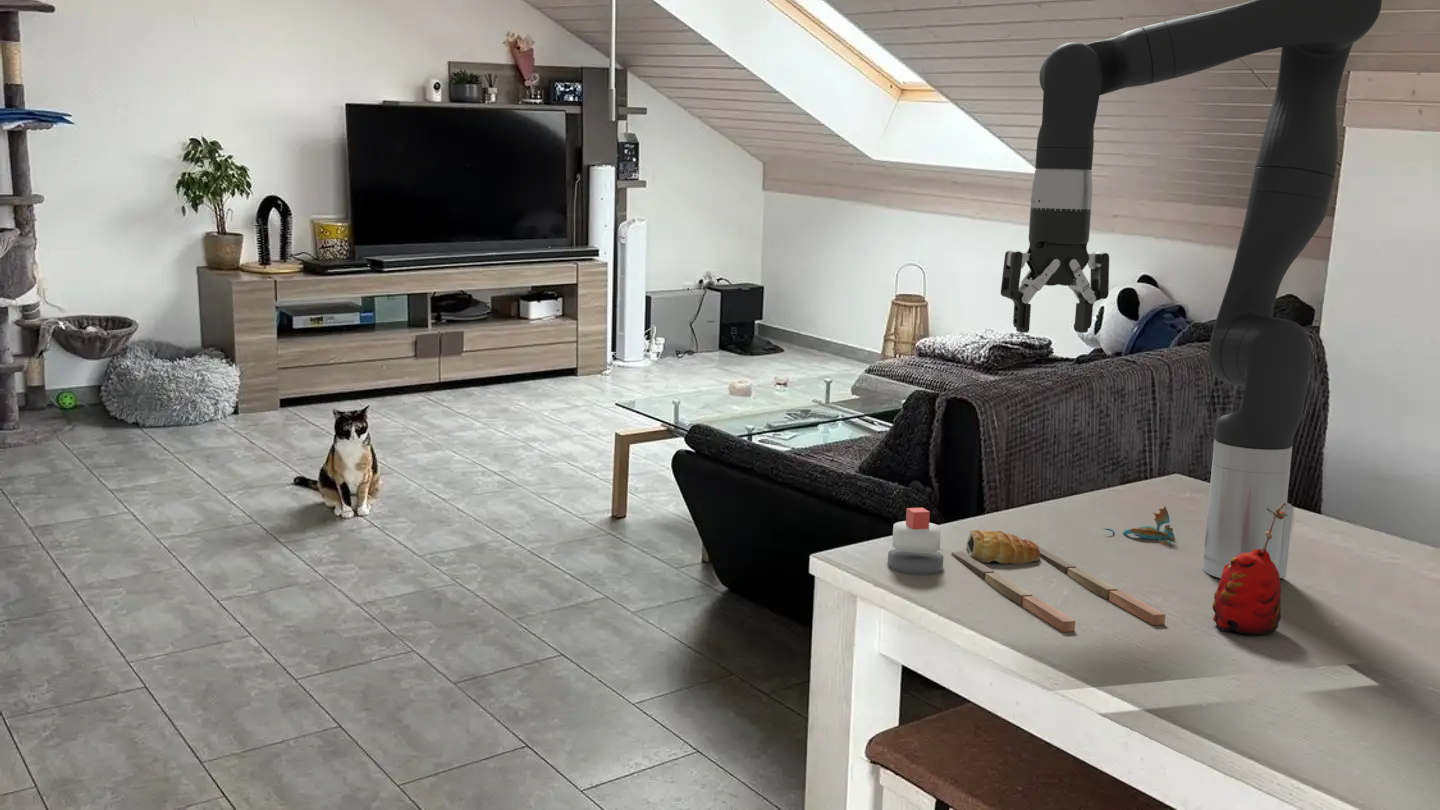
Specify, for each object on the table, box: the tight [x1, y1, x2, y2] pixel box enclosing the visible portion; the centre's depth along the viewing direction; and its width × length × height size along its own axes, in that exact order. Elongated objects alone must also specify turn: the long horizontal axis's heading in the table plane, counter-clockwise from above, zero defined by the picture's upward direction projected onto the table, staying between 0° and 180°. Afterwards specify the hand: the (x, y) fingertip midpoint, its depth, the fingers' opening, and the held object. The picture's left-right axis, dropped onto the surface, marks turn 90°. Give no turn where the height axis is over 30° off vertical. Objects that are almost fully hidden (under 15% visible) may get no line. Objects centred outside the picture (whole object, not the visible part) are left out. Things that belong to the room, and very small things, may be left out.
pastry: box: [966, 529, 1041, 565], centre depth 170 cm, size 9×7×4 cm
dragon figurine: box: [1104, 505, 1175, 547], centre depth 181 cm, size 6×7×8 cm
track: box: [951, 546, 1167, 633], centre depth 159 cm, size 13×28×1 cm, turn 16°
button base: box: [887, 548, 944, 576], centre depth 165 cm, size 7×7×2 cm
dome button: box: [891, 507, 942, 553], centre depth 165 cm, size 6×6×5 cm
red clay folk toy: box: [1212, 503, 1288, 636], centre depth 145 cm, size 8×7×15 cm
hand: (1052, 332), depth 169 cm, fingers open, 8 cm apart
